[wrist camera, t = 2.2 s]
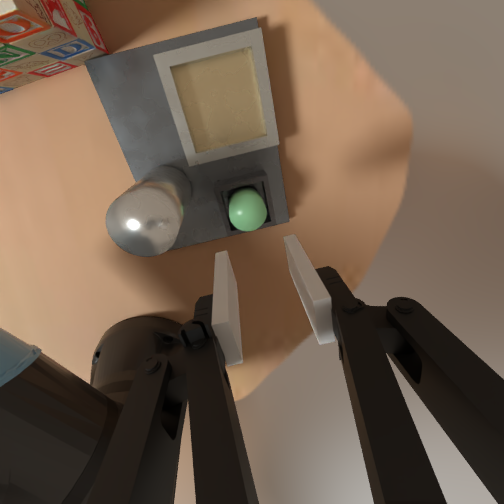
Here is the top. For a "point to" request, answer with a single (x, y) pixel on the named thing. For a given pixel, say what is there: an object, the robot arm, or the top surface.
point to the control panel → (199, 121)
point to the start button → (247, 209)
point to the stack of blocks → (45, 39)
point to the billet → (150, 212)
